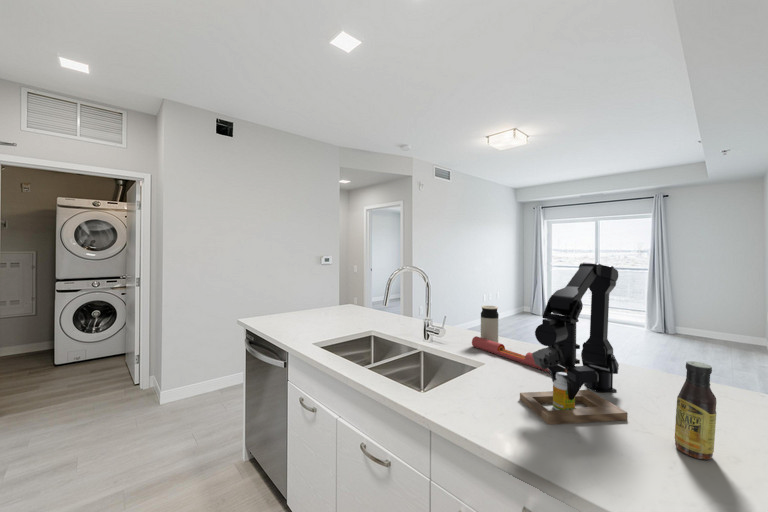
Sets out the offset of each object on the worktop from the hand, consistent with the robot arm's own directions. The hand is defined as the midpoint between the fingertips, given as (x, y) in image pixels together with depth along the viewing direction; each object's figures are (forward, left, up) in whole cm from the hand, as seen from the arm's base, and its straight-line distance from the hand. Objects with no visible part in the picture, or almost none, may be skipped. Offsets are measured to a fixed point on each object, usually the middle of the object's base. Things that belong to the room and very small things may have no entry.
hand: (563, 394), depth 90 cm
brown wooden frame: (-2, 0, -4) cm, 4 cm away
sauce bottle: (-16, +21, -4) cm, 27 cm away
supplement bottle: (0, 0, -4) cm, 4 cm away
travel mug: (-6, -62, -4) cm, 62 cm away
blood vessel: (-7, -41, -5) cm, 42 cm away
